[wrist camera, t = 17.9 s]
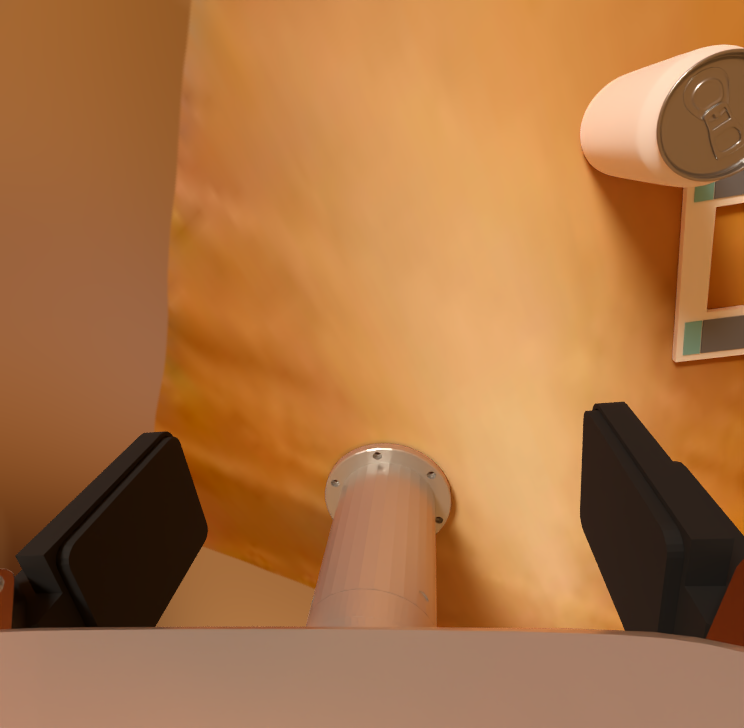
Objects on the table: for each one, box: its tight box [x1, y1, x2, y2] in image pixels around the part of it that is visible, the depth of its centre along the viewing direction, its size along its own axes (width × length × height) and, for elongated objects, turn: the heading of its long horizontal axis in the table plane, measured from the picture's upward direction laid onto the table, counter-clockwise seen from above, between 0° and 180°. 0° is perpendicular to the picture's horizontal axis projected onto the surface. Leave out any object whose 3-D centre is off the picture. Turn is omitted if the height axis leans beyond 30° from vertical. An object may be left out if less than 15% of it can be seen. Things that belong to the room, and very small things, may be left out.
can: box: [580, 45, 744, 187], centre depth 28 cm, size 6×6×12 cm
